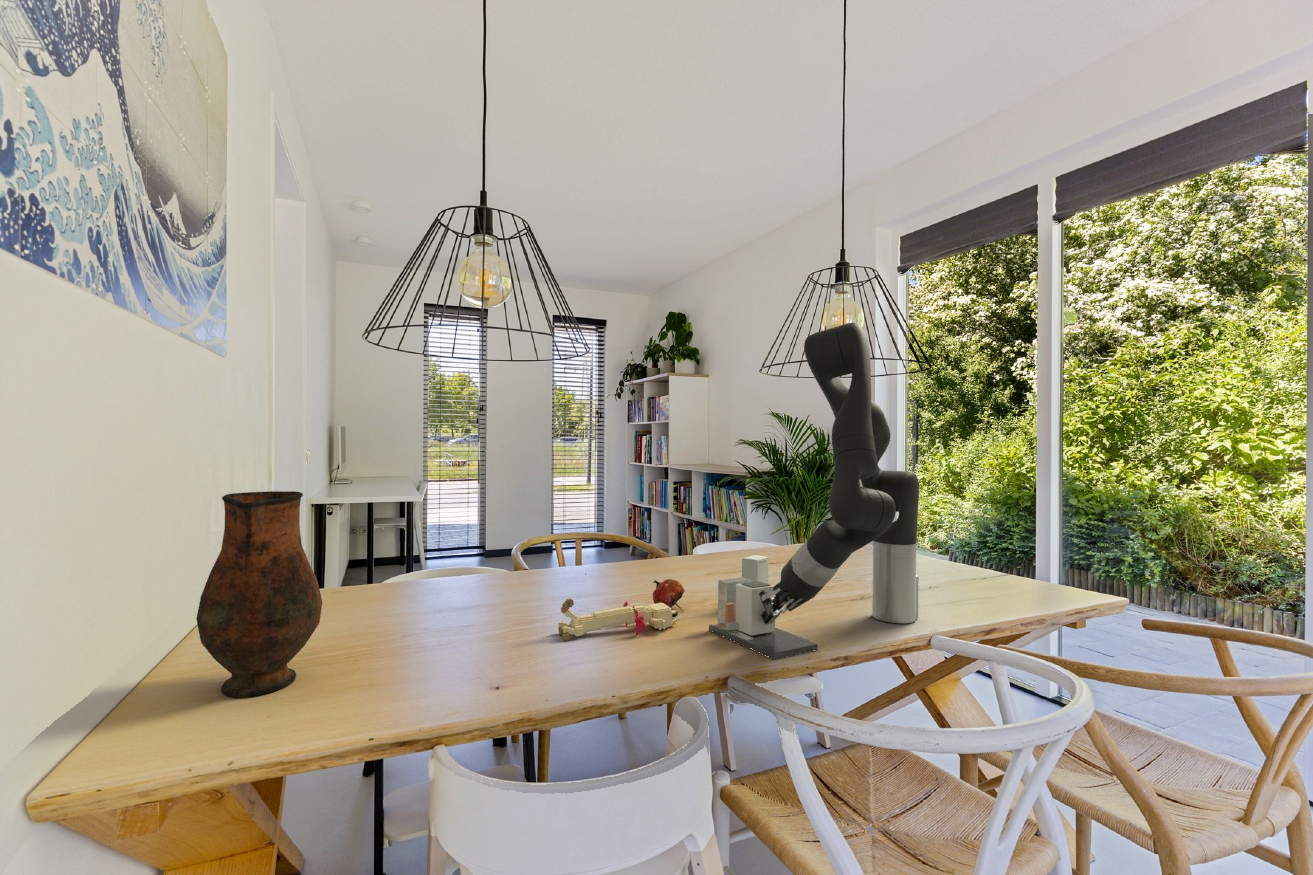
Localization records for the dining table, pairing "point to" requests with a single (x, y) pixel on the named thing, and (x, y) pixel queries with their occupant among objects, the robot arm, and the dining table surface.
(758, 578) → the skincare box
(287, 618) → the brown clay vase
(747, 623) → the dark-topped white block
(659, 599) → the pomegranate
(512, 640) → the dining table surface
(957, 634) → the dining table surface
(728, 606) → the peak pointer
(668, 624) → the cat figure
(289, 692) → the dining table surface
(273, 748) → the dining table surface
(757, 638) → the base
